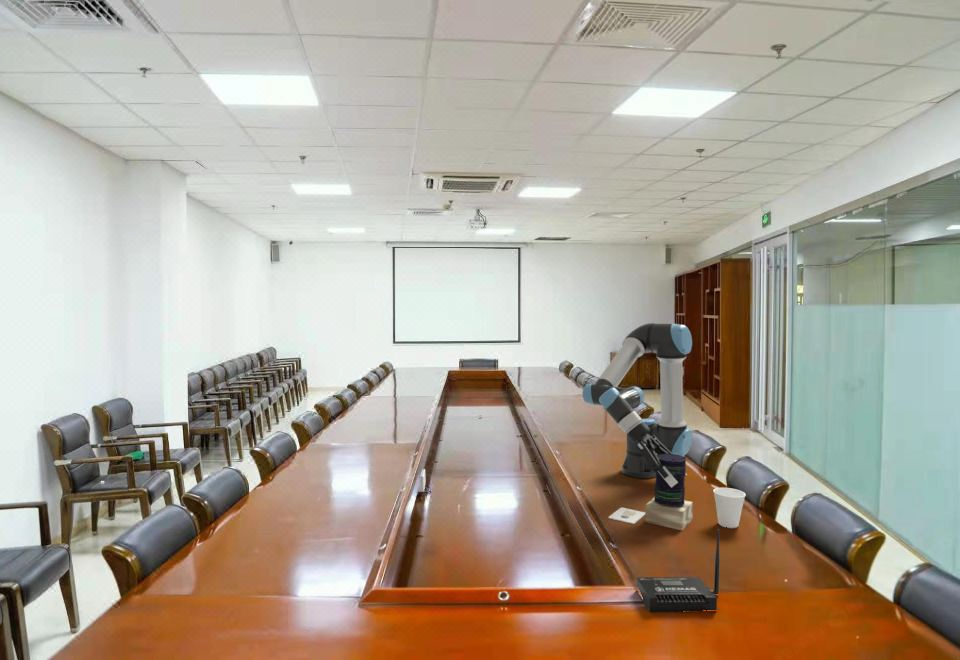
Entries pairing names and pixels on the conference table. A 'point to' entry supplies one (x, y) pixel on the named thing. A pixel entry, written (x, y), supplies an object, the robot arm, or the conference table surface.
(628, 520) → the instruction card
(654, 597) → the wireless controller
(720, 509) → the cup
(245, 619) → the conference table surface
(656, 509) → the base block
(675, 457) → the storage jar
